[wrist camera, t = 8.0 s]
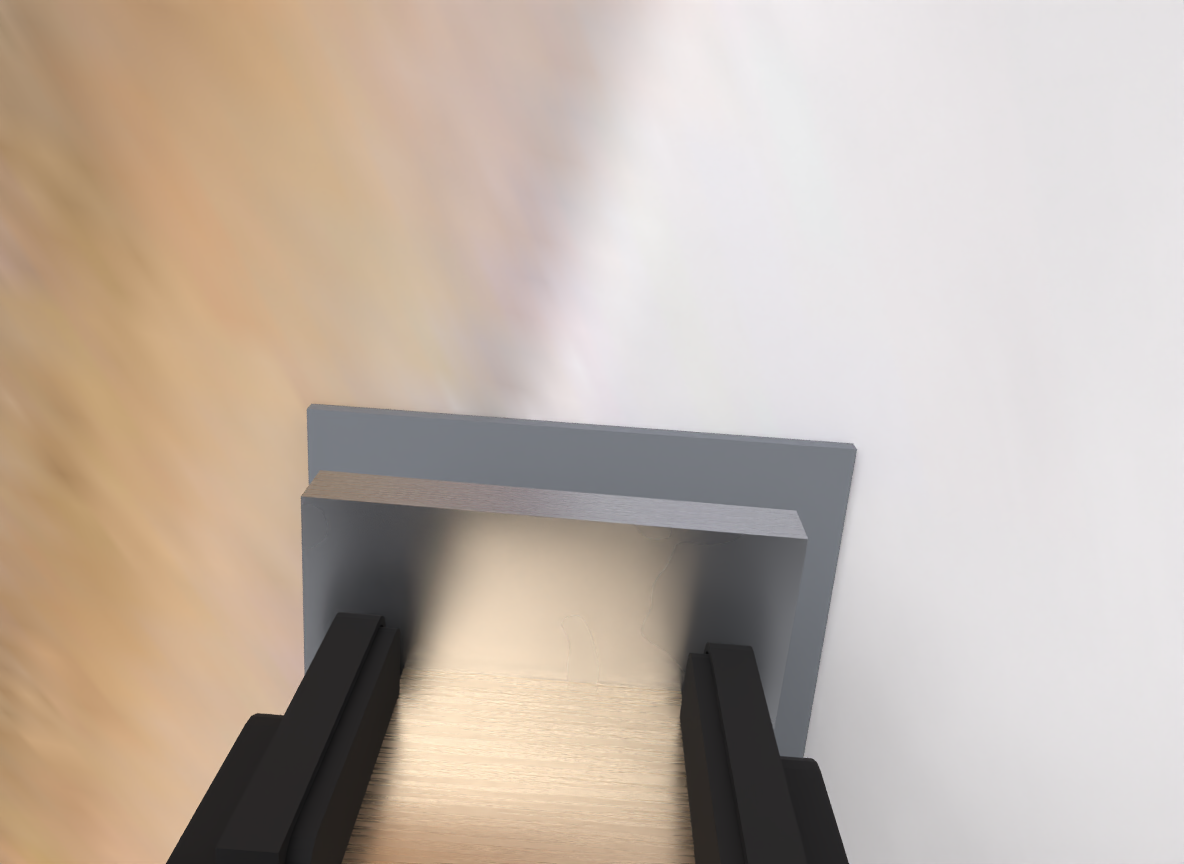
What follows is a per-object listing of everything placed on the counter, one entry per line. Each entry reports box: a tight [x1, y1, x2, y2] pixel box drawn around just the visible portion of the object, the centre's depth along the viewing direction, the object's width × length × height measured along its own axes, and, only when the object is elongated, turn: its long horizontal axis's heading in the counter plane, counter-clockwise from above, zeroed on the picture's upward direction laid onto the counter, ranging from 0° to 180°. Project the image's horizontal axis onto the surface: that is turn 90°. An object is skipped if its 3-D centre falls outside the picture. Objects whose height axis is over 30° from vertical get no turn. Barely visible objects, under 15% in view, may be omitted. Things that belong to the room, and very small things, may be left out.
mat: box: [307, 404, 857, 758], centre depth 20 cm, size 10×12×1 cm
